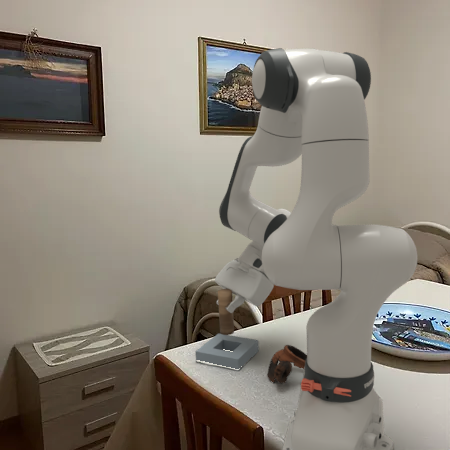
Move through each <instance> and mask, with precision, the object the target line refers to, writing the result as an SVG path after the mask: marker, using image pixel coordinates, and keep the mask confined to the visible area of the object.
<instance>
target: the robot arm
mask: <svg viewBox="0 0 450 450" xmlns="http://www.w3.org/2000/svg"><path fill="white" fill-rule="evenodd" d="M371 73H372V72H371V69H370V66H369V63H368V61H367V60H366V59H365V58H364V57H362V56H360V55H358V54H355V53H351V52H349V51H348V52H347V51H346V52H337V51H332V50H325V49H324V50H323V49H317V48H313V47H312V48H309V47H308V48H307V47H306V48H305V47H304V48H303V47H302V48H288V49H283V48H281V47H279V48H272V49H268V50H265V51H262V52H261V54H260V55H259V56H258V57H257V59H255V62H254V66H253V69H252V75H251V85H252V86H251V87H252V92H253V96H254V99H255V100H256V102H257V103H258V104H259V105H260V106H261V108H260V113H259V117H258V122H257V127H256V131H255V132H254V134H253V135H251V136H248V138H246V139H245V140H244V142H243V143H242V145H241V147H240V149H239V151H238V155H237V158H236V160H235V163H234V166H233V170H232V173H231V176H230V181H229V183H228V187H227V189H226V192H225V194H224V197H223V199H222V200H221V203H220V205H219V207H218V208H219V209H218V214H219V218H220V221H221V224H222V225H223V226H224V227H226V228H228V229H230V230H232V231H234V232H237V233H239V234H240V235H242V236H244V237H246V238H247V239H249V240H251V242H250V243H248V245H246V247H245V249H244V250H243V252H242V253H241V255H240V256H239V257H236V258H235V259H232V260H230V261H229V262H227V263H226V264H225V265H224V266H223V268H221V270H220V271H219V272H218V274H216V276H215V278H214V282H215V283H216V284H217V285H218V286H219V287H220V288H221V289H230V290H232V295H235V297H234V299H232V302H231V303H228V304H227V306H226V307H225V309H226V310H227V311H228V312H230V313H233V314H234V312H235V310H236V309H237V308H239V307H240V306H242V305H243V304H244V302H245V301H246V302H247V303H249V304H251V305H253V306H255V307H259V306H261V305H262V304H263V303H264V302H266V300H267V298H268V296H270V294H271V292H272V291H273V289H274V286H277V287H282V288H285V289H292V290H299V291H317V290H318V291H321V290H322V291H324V290H325V291H326V290H329V291H330V290H332V291H333V290H338V291H340V292H339V294H338V295H337V297H336V298H334V300H333V301H331V302H329V303H328V304H326V305H323V306H321V307H320V308H318V309H316V310H315V311H314V312H313V313H312V314H311V315H310V316H309V318H308V320H307V323H306V330H305V331H306V355H307V359H306V361H305V367H304V369H303V378H302V380H301V383H300V392H299V396H298V402H297V406H296V410H295V411H294V414H293V415H292V417H290V420H289V423H288V426H287V430H286V435H285V438H284V442H283V446H282V449H281V450H394V448H395V445H394V440H393V439H392V438H391V437H390V436H388V435H387V434H385V430H384V428H385V427H384V408H383V407H384V404H383V399H382V398H381V397H380V395H378V393H377V391H376V390H375V388H374V385H375V384H374V383H375V382H374V381H375V371H374V365H373V362H372V340H373V330H374V324H375V322H376V318H377V316H378V313H379V312H380V310H381V309H382V306H383V305H384V304H385V302H386V301H387V300H388V298H390V296H392V294H393V293H394V292H395V291H397V290H398V289H400V288H401V287H402V286H404V285H406V284H407V283H408V282H409V281H410V280H411V278H412V277H413V275H414V274H415V271H416V269H417V265H418V249H417V246H416V244H415V241H414V240H413V239H412V237H411V235H410V234H409V233H408V232H407V231H405V230H404V229H403V228H399V227H394V226H389V225H382V224H376V223H375V224H373V223H371V224H351V225H349V224H348V225H347V224H346V225H336V224H333V218H334V216H335V213H336V212H337V211H338V210H339V209H341V208H343V207H345V206H347V205H349V204H351V203H353V202H355V201H356V200H358V199H359V198H361V197H362V196H363V195H364V194H365V193H366V191H367V190H368V187H369V185H370V142H369V141H370V139H369V122H368V113H367V108H366V103H365V100H366V98H367V96H368V95H369V92H370V89H371V84H372V74H371ZM300 156H301V176H300V178H301V179H300V188H299V194H298V197H297V201H296V203H295V205H294V207H293V209H292V210H291V211H290V210H288V209H286V208H278V209H277V208H275V207H274V206H271V205H269V204H266V203H265V202H262V201H261V200H259V199H257V198H255V196H253V195H252V193H251V191H250V189H251V186H252V182H253V179H254V177H255V174H256V171H257V168H258V167H272V168H273V167H280V166H281V167H282V166H285V165H288V164H292V163H293V162H295V161H296V160H298V159H299V158H300ZM216 305H218V306H219V304H218V299H217V300H216Z"/></svg>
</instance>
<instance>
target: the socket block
mask: <svg viewBox="0 0 450 450" xmlns="http://www.w3.org/2000/svg"><path fill="white" fill-rule="evenodd" d="M223 349H225V350H230V351H233V352H230V351H225V350H223ZM259 349H260V347H259V339H255V338H248V337H242V336H235V335H231V334H230V335H223V334H221V333H217V334H216V335H215V336H213V337H212V338H211V339H209V340H208V341H207V342H205V343H204V344H203V345H202V346H201V347H198V349H197V350H196V351H195V361H196V360H200V361H205V362H209V363H213V364H217V365H222V366H226V367H231V368H235V369H239V368H241V366H243V365H244V364H245V363H246V362H247V361H248V360H249V359H250V358H251V357H252V358H253V357H254V356H255V355H256V354H257V353H259V351H260V350H259ZM252 358H251V359H252ZM251 359H250V360H251ZM250 360H249V361H250ZM249 361H248V362H249ZM248 362H247V363H248ZM247 363H246V364H247ZM246 364H245V365H246ZM245 365H244V366H245ZM244 366H243V367H244ZM241 369H242V368H241Z"/></svg>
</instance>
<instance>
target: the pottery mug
mask: <svg viewBox="0 0 450 450" xmlns="http://www.w3.org/2000/svg"><path fill="white" fill-rule="evenodd" d="M306 359H307V353H305V352H303V351H302V350H301V349H299V348H298V347H295V346H293V345H290V344H285V345H284V347H283V349H280V350H277V351H276V352H275V353H274V354H273V356H272V358H271V359H270V361H269V366H268V370H267V373H266V374H267V378H268V380H269V381H270V380H271V381H272V382H275V383H276V381H277V383H279V384H286V382H287V379H288V377H289V376H290V374H291V373H292V370H293V366H294V367H297V368H298V369H302V370H304V367H305V361H306ZM271 381H270V382H271ZM272 382H271V383H272Z"/></svg>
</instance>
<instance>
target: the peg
mask: <svg viewBox="0 0 450 450" xmlns="http://www.w3.org/2000/svg"><path fill="white" fill-rule="evenodd" d="M217 300H218V304H219V305H218V304H217V305H218V317H219V318H218V319H219V334H223V335H230V336H231V335H233V334H234V333H235V322H234V320H235V319H234V312H233V313H230V312H228V311H227V310H226V309H225V307H226V306H227V304H228V303H231V302H232V301H233V293H232V290H230V289H223V288H220V289H219V290H217Z"/></svg>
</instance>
